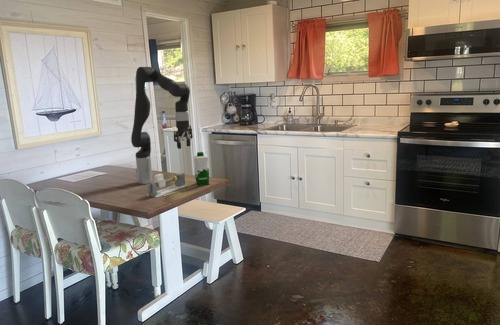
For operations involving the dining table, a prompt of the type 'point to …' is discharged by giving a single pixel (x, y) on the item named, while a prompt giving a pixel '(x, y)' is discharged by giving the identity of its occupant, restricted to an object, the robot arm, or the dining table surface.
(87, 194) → the dining table surface
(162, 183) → the cream stepped block
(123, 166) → the dining table surface
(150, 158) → the robot arm
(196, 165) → the milk carton
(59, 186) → the dining table surface
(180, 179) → the cord rig
